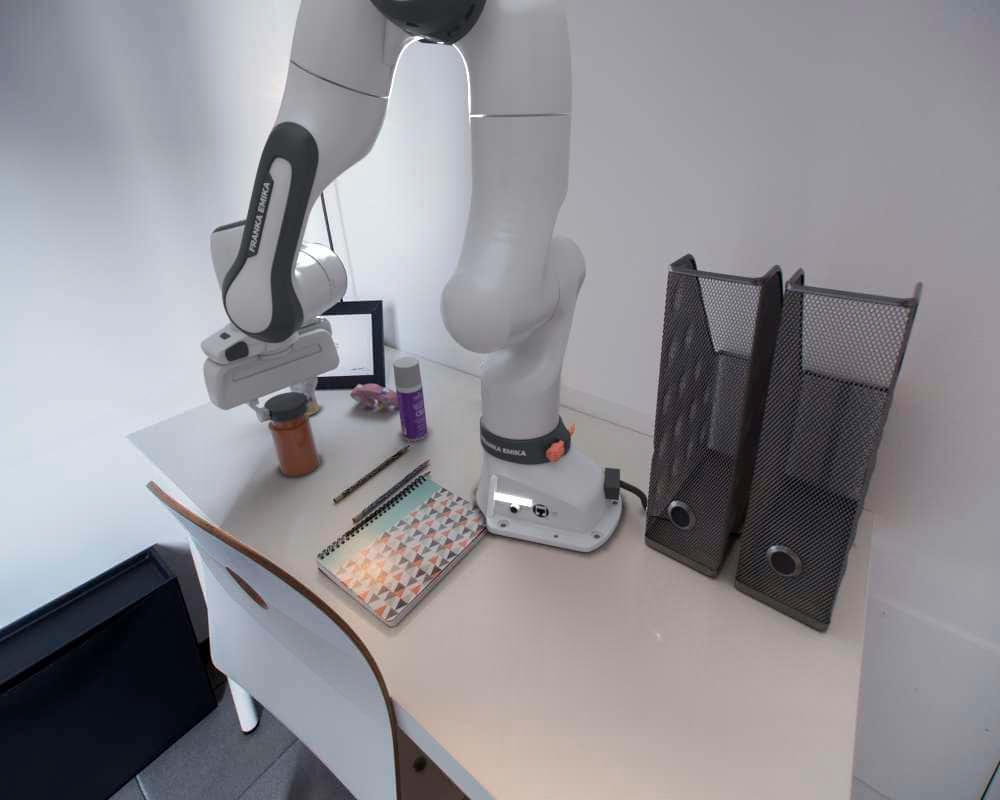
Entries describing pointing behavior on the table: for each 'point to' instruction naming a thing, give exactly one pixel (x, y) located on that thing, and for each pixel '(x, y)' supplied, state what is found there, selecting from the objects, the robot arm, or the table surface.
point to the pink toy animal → (374, 396)
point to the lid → (287, 406)
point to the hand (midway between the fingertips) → (287, 410)
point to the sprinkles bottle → (300, 388)
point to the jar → (295, 446)
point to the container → (410, 398)
